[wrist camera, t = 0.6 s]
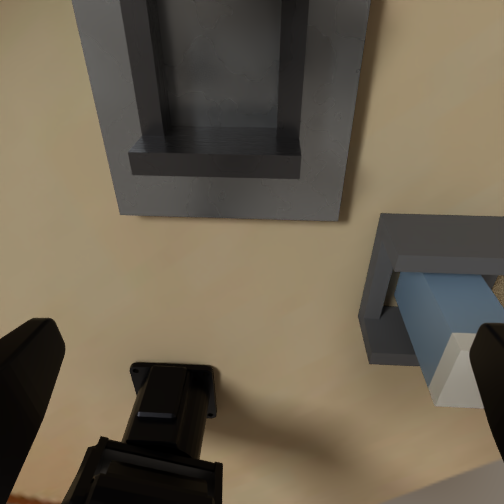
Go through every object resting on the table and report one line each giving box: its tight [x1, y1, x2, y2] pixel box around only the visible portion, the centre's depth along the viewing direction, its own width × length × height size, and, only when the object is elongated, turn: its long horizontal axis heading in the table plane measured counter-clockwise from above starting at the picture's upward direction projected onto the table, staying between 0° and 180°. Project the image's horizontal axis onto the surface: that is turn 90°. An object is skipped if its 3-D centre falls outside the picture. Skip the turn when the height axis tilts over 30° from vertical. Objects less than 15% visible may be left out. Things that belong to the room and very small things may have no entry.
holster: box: [358, 213, 504, 366], centre depth 22 cm, size 8×7×4 cm
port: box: [72, 0, 371, 221], centre depth 16 cm, size 16×12×4 cm
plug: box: [394, 272, 504, 409], centre depth 21 cm, size 4×3×8 cm
